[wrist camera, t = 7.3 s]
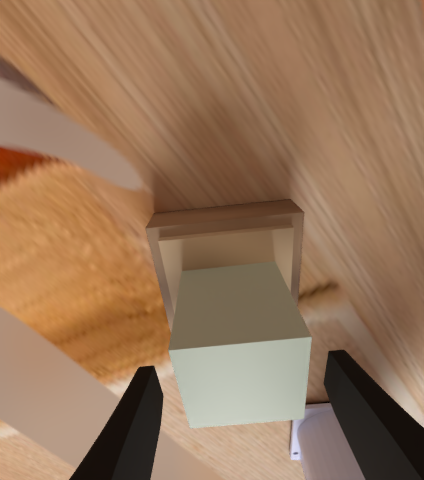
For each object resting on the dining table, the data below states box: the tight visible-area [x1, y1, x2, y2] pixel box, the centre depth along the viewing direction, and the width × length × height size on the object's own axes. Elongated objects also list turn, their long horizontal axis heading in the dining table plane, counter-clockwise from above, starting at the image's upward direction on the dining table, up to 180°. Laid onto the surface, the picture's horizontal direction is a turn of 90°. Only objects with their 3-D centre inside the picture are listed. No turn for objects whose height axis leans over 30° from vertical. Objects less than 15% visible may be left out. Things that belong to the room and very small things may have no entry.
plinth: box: [146, 199, 304, 332], centre depth 15 cm, size 10×8×3 cm
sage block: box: [168, 261, 312, 428], centre depth 12 cm, size 5×5×5 cm
